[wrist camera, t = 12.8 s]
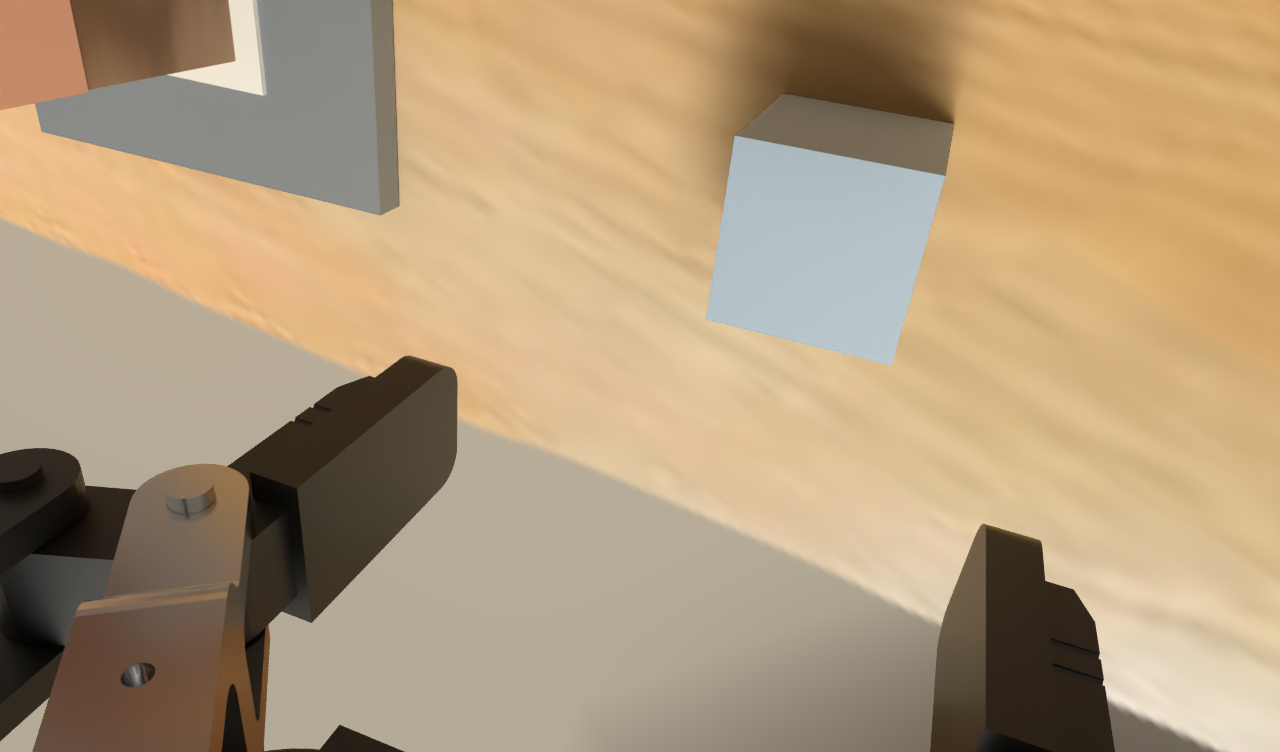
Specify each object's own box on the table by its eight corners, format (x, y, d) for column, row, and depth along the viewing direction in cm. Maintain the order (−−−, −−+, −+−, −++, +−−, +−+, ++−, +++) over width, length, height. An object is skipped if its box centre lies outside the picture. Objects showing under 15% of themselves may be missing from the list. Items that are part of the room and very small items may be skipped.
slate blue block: (783, 93, 26) (734, 135, 21) (954, 123, 25) (945, 176, 20) (755, 248, 29) (705, 319, 24) (909, 282, 27) (891, 365, 22)
